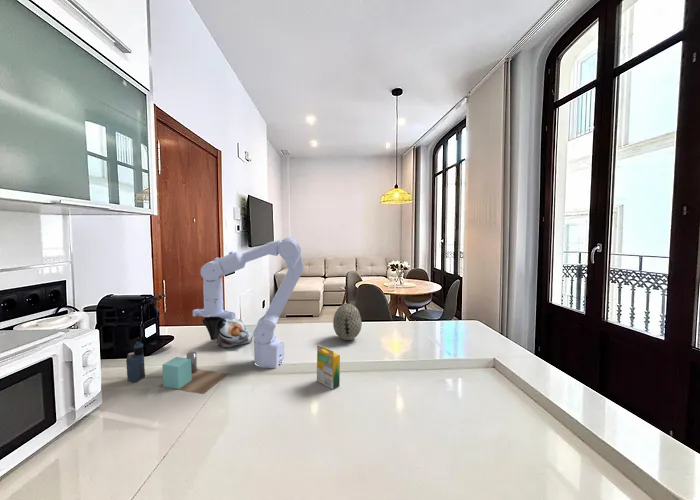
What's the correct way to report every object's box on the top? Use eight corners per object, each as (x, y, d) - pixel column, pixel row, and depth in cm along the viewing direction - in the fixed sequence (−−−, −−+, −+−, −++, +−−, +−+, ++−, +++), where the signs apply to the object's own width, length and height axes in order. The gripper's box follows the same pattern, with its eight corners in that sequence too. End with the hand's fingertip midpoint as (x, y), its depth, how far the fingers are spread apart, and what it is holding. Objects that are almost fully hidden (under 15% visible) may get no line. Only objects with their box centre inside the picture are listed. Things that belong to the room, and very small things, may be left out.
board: (229, 376, 101) (229, 373, 100) (203, 397, 89) (203, 393, 89) (188, 370, 104) (188, 367, 104) (158, 389, 92) (158, 386, 92)
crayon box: (340, 386, 96) (340, 348, 95) (332, 390, 94) (333, 351, 93) (323, 377, 101) (323, 342, 100) (316, 381, 99) (316, 344, 98)
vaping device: (140, 382, 96) (138, 344, 95) (125, 380, 97) (123, 342, 96) (147, 378, 99) (145, 340, 97) (132, 376, 100) (130, 339, 98)
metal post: (198, 370, 102) (198, 352, 102) (192, 374, 100) (192, 355, 99) (191, 369, 103) (190, 351, 102) (185, 373, 100) (184, 354, 100)
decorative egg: (361, 345, 127) (362, 308, 125) (332, 344, 127) (332, 307, 126) (361, 334, 139) (361, 300, 137) (333, 333, 139) (334, 299, 137)
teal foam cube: (191, 380, 96) (191, 359, 95) (178, 389, 91) (177, 366, 90) (177, 377, 97) (176, 356, 97) (163, 386, 92) (162, 364, 92)
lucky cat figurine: (259, 339, 131) (258, 315, 124) (240, 360, 122) (237, 336, 114) (230, 324, 135) (227, 300, 128) (208, 344, 126) (204, 320, 118)
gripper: (185, 299, 102) (186, 341, 103) (225, 303, 98) (226, 345, 100) (200, 294, 109) (201, 333, 110) (238, 297, 105) (239, 337, 107)
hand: (214, 338), depth 105 cm, fingers closed
